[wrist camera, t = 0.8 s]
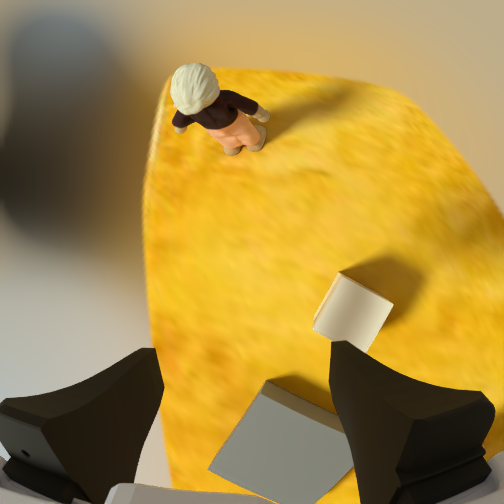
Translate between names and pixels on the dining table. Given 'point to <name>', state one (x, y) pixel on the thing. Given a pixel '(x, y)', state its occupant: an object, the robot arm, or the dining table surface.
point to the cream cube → (351, 313)
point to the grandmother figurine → (216, 109)
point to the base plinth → (285, 449)
